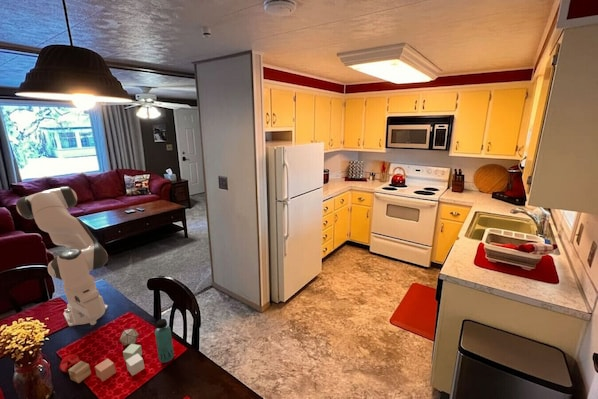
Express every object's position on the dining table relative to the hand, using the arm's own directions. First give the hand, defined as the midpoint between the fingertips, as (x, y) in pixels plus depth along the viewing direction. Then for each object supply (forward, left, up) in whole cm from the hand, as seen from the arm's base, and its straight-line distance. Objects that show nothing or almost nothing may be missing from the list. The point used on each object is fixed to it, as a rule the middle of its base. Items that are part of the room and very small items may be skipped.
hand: (87, 320), depth 118 cm
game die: (-3, +15, -25) cm, 29 cm away
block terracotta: (+5, 0, -25) cm, 25 cm away
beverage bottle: (+20, +18, -25) cm, 37 cm away
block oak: (-3, -6, -25) cm, 26 cm away
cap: (-12, -6, -25) cm, 28 cm away
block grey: (+13, +8, -25) cm, 29 cm away
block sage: (+6, +11, -25) cm, 28 cm away
